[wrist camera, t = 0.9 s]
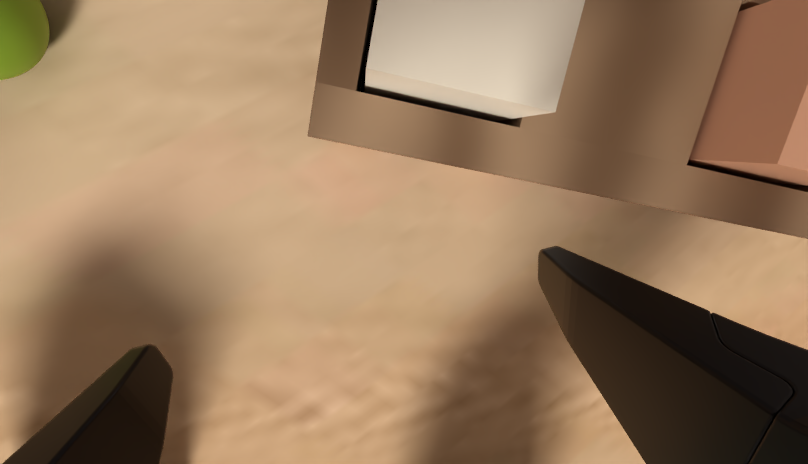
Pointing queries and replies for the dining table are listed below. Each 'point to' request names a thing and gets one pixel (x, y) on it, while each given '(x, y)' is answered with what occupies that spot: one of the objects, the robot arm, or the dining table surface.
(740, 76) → the salmon pink block
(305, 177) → the dining table surface
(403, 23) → the white box
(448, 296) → the dining table surface
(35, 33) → the snail figurine
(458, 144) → the brown striped box
